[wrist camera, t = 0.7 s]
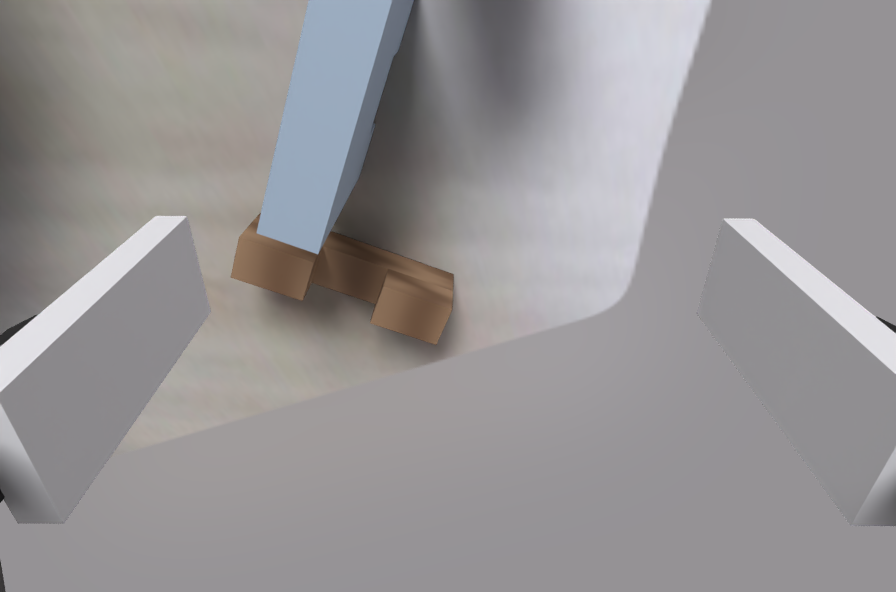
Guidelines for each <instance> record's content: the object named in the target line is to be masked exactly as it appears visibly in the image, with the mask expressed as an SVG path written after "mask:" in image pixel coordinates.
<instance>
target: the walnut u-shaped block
mask: <svg viewBox="0 0 896 592" xmlns="http://www.w3.org/2000/svg"><path fill="white" fill-rule="evenodd" d="M260 215H261V213H260V214H259V215H258V216H257V217H256V218H255V220H254V221H253V222H252V223H251V224H250V225H249V226H248V228H247V229H246V230H245V231H244V232H243V233H242V234H241V236H240V237H239V240H238V245H237V250H236V255H235V259H234V264H233V269H232V274H231V278H234V279H237V280H240V281H243V282H246V283H249V284H252V285H255V286H258V287H261V288H264V289H268V290H271V291H274V292H277V293H280V294H283V295H286V296H289V297H292V298H295V299H298V300H301V301H303V299H304V297H305V295H306V293H307V291H308V289H309V287H310V285H311V283H314V284H317V285H320V286H323V287H326V288H329V289H332V290H335V291H338V292H341V293H344V294H347V295H350V296H353V297H356V298H359V299H362V300H365V301H368V302H371V303H374V304H375V307H374V310H373V314H372V318H371V321H370V323H371V324H374V325H377V326H380V327H383V328H386V329H389V330H392V331H395V332H398V333H401V334H404V335H408V336H411V337H414V338H417V339H420V340H423V341H426V342H429V343H432V344H435V345H436V344H437V342H438V340H439V338H440V336H441V333H442V331H443V329H444V327H445V325H446V322H447V320H448V318H449V316H450V313H451V311H452V301H453V274H451V273H448V272H445V271H443V270H440V269H437V268H434V267H431V266H428V265H425V264H423V263H420V262H417V261H414V260H411V259H408V258H406V257H403V256H400V255H397V254H394V253H391V252H389V251H386V250H383V249H380V248H377V247H374V246H371V245H369V244H366V243H363V242H360V241H357V240H354V239H352V238H349V237H346V236H343V235H340V234H337V233H334V232H332V231H330V233H329V235H328V237H327V239H326V240H325V242H324V244H323V246H322V248H321V250H320V252H319V254H316V253H313V252H310V251H307V250H304V249H301V248H298V247H295V246H292V245H289V244H286V243H283V242H281V241H278V240H275V239H272V238H269V237H266V236H263V235H260V234H257V228H258V224H259V219H260Z"/></svg>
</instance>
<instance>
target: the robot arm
mask: <svg viewBox="0 0 896 592" xmlns="http://www.w3.org/2000/svg"><path fill="white" fill-rule="evenodd" d="M210 312H211V310H210V306H209V302H208V298H207V294H206V290H205V286H204V282H203V278H202V274H201V270H200V266H199V262H198V258H197V254H196V250H195V246H194V242H193V238H192V234H191V230H190V226H189V222H188V218H187V216H155V217H154V218H153V219H152V220H150V221H149V222H148V223H147V224H146V225H144V226H143V227H142V228H141V229H140V230H139V231H137V232H136V233H135V234H134V235H133V236H131V237H130V238H129V239H128V240H127V241H125V242H124V243H123V244H122V245H121V246H119V247H118V248H117V249H116V250H115V251H114V252H112V253H111V254H110V255H109V256H108V257H106V258H105V259H104V260H103V261H102V262H100V263H99V264H98V265H97V266H96V267H94V268H93V269H92V270H91V271H90V272H89V273H87V274H86V275H85V276H84V277H83V278H81V279H80V280H79V281H78V282H77V283H75V284H74V285H73V286H72V287H71V288H69V289H68V290H67V291H66V292H65V293H64V294H62V295H61V296H60V297H59V298H58V299H56V300H55V301H54V302H53V303H52V304H50V305H49V306H48V307H47V308H46V309H44V310H43V311H42V312H41V313H40V314H39V315H35V316H33V317H31V318H29V319H27V320H25V321H23V322H21V323H19V324H17V325H15V326H13V327H11V328H9V329H8V330H6V331H5V332H4V333H3V334H1V335H0V502H1V501H2V500H3V499H4V501H5V502H6V504H7V506H8V507H9V509H10V511H11V513H12V514H13V516H14V518H15V519H16V521H17V523H65V521H66V520H67V518H68V517H69V515H70V514H71V513H72V511H73V510H74V508H75V507H76V505H77V504H78V503H79V501H80V500H81V498H82V497H83V495H84V494H85V492H86V491H87V490H88V488H89V486H90V485H91V484H92V482H93V481H94V479H95V478H96V477H97V475H98V474H99V472H100V471H101V469H102V468H103V467H104V465H105V464H106V462H107V461H108V459H109V458H110V456H111V455H112V454H113V452H114V451H115V449H116V448H117V446H118V445H119V443H120V442H121V441H122V439H123V438H124V436H125V435H126V433H127V432H128V431H129V429H130V428H131V426H132V425H133V423H134V422H135V420H136V419H137V418H138V416H139V415H140V413H141V412H142V410H143V409H144V407H145V406H146V405H147V403H148V402H149V400H150V399H151V397H152V396H153V395H154V393H155V392H156V390H157V389H158V387H159V386H160V384H161V383H162V382H163V380H164V379H165V377H166V376H167V374H168V373H169V371H170V370H171V369H172V367H173V366H174V364H175V363H176V361H177V360H178V358H179V357H180V356H181V354H182V353H183V351H184V350H185V348H186V347H187V346H188V344H189V343H190V341H191V340H192V338H193V337H194V335H195V334H196V333H197V331H198V330H199V328H200V327H201V325H202V324H203V322H204V321H205V320H206V318H207V317H208V315H209V314H210ZM697 314H698V316H699V317H700V319H701V320H702V322H703V323H704V324H705V326H706V327H707V329H708V330H709V331H710V333H711V334H712V336H713V337H714V338H715V340H716V341H717V342H718V344H719V345H720V347H721V348H722V349H723V351H724V352H725V353H726V355H727V356H728V357H729V359H730V360H731V362H732V363H733V364H734V366H735V367H736V369H737V370H738V371H739V373H740V374H741V375H742V377H743V378H744V380H745V381H746V382H747V384H748V385H749V386H750V388H751V389H752V391H753V392H754V393H755V395H756V396H757V397H758V399H759V400H760V401H761V403H762V404H763V405H764V407H765V408H766V410H767V411H768V413H769V414H770V415H771V417H772V418H773V419H774V421H775V422H776V424H777V425H778V426H779V428H780V429H781V431H782V432H783V433H784V434H785V436H786V437H787V439H788V440H789V441H790V443H791V444H792V445H793V447H794V448H795V450H796V451H797V453H798V454H799V455H800V456H801V458H802V459H803V461H804V462H805V464H806V465H807V466H808V468H809V469H810V470H811V472H812V473H813V474H814V476H815V477H816V479H817V480H818V481H819V483H820V484H821V486H822V487H823V488H824V490H825V491H826V492H827V494H828V495H829V497H830V498H831V499H832V501H833V502H834V503H835V505H836V506H837V508H838V509H839V510H840V512H841V513H842V514H843V516H844V517H845V518H846V520H847V521H848V523H849V524H850V525H851V526H896V326H895V325H893V324H891V323H889V322H887V321H885V320H883V319H881V318H879V317H875V316H873V315H872V314H871V313H870V312H868V311H867V310H866V309H865V308H864V307H862V306H861V305H860V304H858V303H857V302H856V301H855V300H854V299H852V298H851V297H850V296H849V295H848V294H846V293H845V292H844V291H843V290H841V289H840V288H839V287H837V286H836V285H835V284H834V283H832V282H831V281H830V280H829V279H828V278H826V277H825V276H824V275H823V274H822V273H820V272H819V271H818V270H816V269H815V268H814V267H813V266H812V265H810V264H809V263H808V262H807V261H805V260H804V259H803V258H802V257H800V256H799V255H798V254H797V253H796V252H794V251H793V250H792V249H791V248H789V247H788V246H787V245H786V244H784V243H783V242H782V241H781V240H780V239H778V238H777V237H776V236H775V235H773V234H772V233H771V232H770V231H768V230H767V229H766V228H765V227H763V226H762V225H761V224H760V223H759V222H757V221H756V220H755V219H723V220H722V223H721V227H720V231H719V235H718V238H717V241H716V245H715V249H714V252H713V256H712V260H711V263H710V267H709V271H708V274H707V278H706V282H705V285H704V289H703V292H702V296H701V300H700V303H699V307H698V311H697ZM0 592H5V586H4V580H3V574H2V568H1V562H0Z"/></svg>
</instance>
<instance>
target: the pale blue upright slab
mask: <svg viewBox="0 0 896 592" xmlns="http://www.w3.org/2000/svg"><path fill="white" fill-rule="evenodd" d="M413 2H414V0H309V2H308V6H307V10H306V15H305V19H304V24H303V28H302V33H301V37H300V42H299V46H298V50H297V55H296V59H295V64H294V68H293V73H292V77H291V82H290V86H289V90H288V95H287V99H286V104H285V108H284V113H283V117H282V122H281V126H280V130H279V135H278V139H277V144H276V148H275V153H274V157H273V162H272V166H271V170H270V175H269V179H268V184H267V188H266V193H265V197H264V202H263V206H262V210H261V215H260V219H259V224H258V228H257V234H260V235H263V236H266V237H269V238H272V239H275V240H278V241H281V242H283V243H286V244H289V245H292V246H295V247H298V248H301V249H304V250H307V251H310V252H313V253H316V254H319V252H320V250H321V248H322V246H323V244H324V242H325V240H326V239H327V237H328V235H329V233H330V231H331V229H332V227H333V225H334V224H335V222H336V220H337V218H338V216H339V214H340V212H341V210H342V209H343V207H344V205H345V203H346V201H347V199H348V197H349V195H350V194H351V192H352V190H353V188H354V186H355V184H356V182H357V180H358V179H359V176H360V173H361V170H362V167H363V164H364V160H365V157H366V154H367V151H368V147H369V144H370V141H371V138H372V134H373V131H374V128H375V125H376V124H373V122H374V119H375V115H376V112H377V109H378V105H379V102H380V99H381V96H382V92H383V89H384V86H385V83H386V79H387V76H388V73H389V70H390V66H391V63H392V60H393V57H394V55H395V54H396V53H397V52H398V51H399V47H400V44H401V41H402V38H403V34H404V31H405V28H406V25H407V21H408V18H409V15H410V12H411V9H412V5H413Z"/></svg>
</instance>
